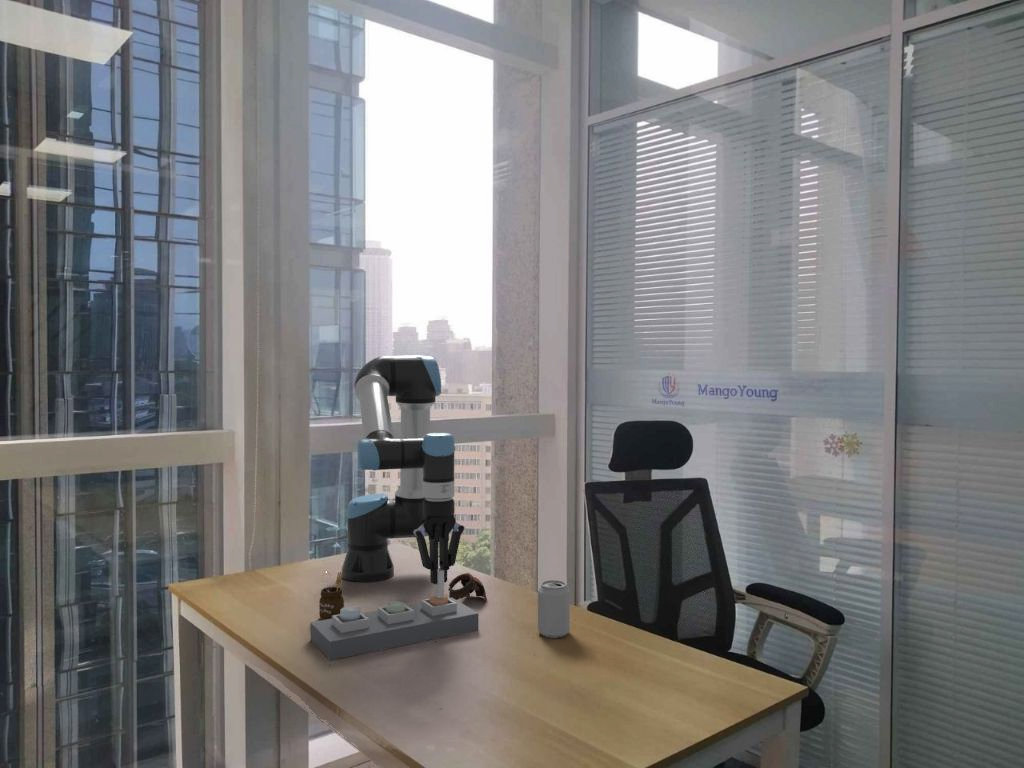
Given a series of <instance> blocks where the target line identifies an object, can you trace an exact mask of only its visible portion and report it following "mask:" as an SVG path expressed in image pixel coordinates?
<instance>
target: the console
mask: <svg viewBox="0 0 1024 768" xmlns="http://www.w3.org/2000/svg"><path fill="white" fill-rule="evenodd" d="M405 605H406V604H405ZM309 626H310V627H309V629H310V630H309V631H310V640H311V641H312V643H313V644H314V645H315V646H316V647H317V648H318V649H319V650H320V652H322V654H324V656H325V657H326V656H327V657H326V658H327V659H328V660H329V661H334V660H337V659H338V658H339V659H342V658H347V657H352V656H357V655H363V654H368V653H372V652H371V651H373V652H376V651H375V650H378V651H381V650H380V649H383V650H386V649H385V648H388V649H391V648H390V647H393V648H396V646H397V647H402V646H407V645H412V644H417V643H421V641H422V642H425V640H427V641H431V640H430V639H432V640H436V638H437V639H440V638H441V637H442V638H445V637H450V636H456V635H461V634H466V633H469V632H475V631H479V613H478V612H477V611H475V610H473V609H472V608H470V607H469V606H467V605H465V604H464V603H462V602H460V601H458V600H455V599H454V598H449V597H448V604H444V605H439V606H432V605H431V604H430V598H425V599H421V600H420V602H419V603H417V602H416V603H413V604H407V605H406V611H405V612H400V613H394V614H389V613H387V612H386V605H384V606H381V607H380V606H379V607H377V610H374V611H373V610H371V611H368V612H361V611H360V619H359V620H355V621H350V622H347V621H342V620H341V619H340V614H339V615H333V616H332V619H327V620H322V619H320V620H316V621H310V625H309ZM416 642H417V643H416ZM406 644H407V645H406ZM401 645H402V646H401ZM367 652H368V653H367ZM339 659H338V660H339Z"/></svg>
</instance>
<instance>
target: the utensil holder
mask: <svg viewBox="0 0 1024 768" xmlns="http://www.w3.org/2000/svg"><path fill="white" fill-rule="evenodd" d="M324 575H328V576H329V578H328V576H325V578H326V581H328V579H329V580H330V583H332V575H331V574H330V572H328V571H326V572H324V574H322V575H321V576H322V577H324ZM342 575H343V571H342V570H341V571H340V572H337V577H336V581H335V585H337V586H333V585H332V584H330V586H329V583H327V586H324V587H323V588H322V589H321V590H320V597H319V598H320V599H319V601H318V602H319V605H318V607H319V608H318V609H319V612H318V613H319V619H320V620H327V619H332V616H333V615H339V614H340V609H342V608H344V607H345V600H344V596H343V588H341V587H340V584H341V583H342V580H343V577H342ZM325 578H322V579H321V580H322V583H323V584H325Z"/></svg>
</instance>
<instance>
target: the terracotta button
mask: <svg viewBox="0 0 1024 768" xmlns="http://www.w3.org/2000/svg"><path fill="white" fill-rule="evenodd" d="M448 598H449V596H448V595H447V594H444V598H437V597H435V596H434V594H432V595H430V596H429V599H430V604H431V605H432V606H439V605H444V604H448Z"/></svg>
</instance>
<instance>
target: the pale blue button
mask: <svg viewBox="0 0 1024 768" xmlns="http://www.w3.org/2000/svg"><path fill="white" fill-rule="evenodd" d="M360 612H361V607H359V606H355V605H353V606H344V608H342V609H340V619H341V620H342V621H347V622H350V621H355V620H359V619H360Z"/></svg>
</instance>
